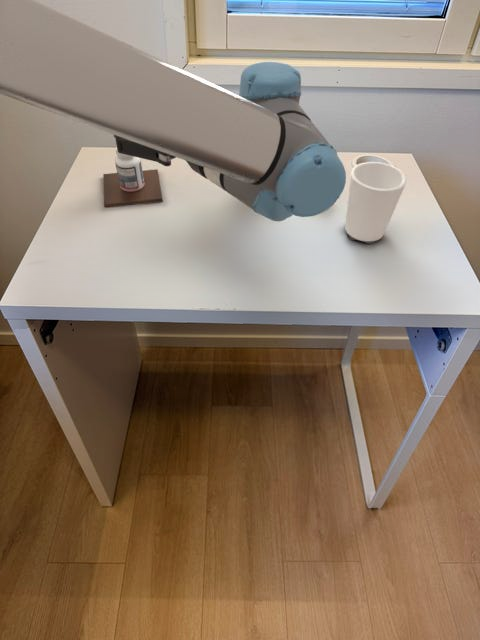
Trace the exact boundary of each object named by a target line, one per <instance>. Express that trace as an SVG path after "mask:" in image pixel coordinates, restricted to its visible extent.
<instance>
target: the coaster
mask: <svg viewBox="0 0 480 640" xmlns="http://www.w3.org/2000/svg"><path fill="white" fill-rule="evenodd" d="M142 171H143V177H144V186H143V188H141V189H140V190H138V191H133V192H128V191H124V190H122V189H121V187H120V184H119V179H118V174H117V172H111V173H103V176H102V177H103V205H104V208H113V207H121V206H122V207H123V206H133V205H142V204H151V203H162V202H163V200H164V199H163V196H162V193H163V192H162V188H161V181H160V176H159V170H158V169H157V168H155V169H147V170H142Z"/></svg>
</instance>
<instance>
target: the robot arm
mask: <svg viewBox="0 0 480 640" xmlns="http://www.w3.org/2000/svg"><path fill="white" fill-rule="evenodd" d="M301 87H302V76H301V73H300V71H299V70H298V68H296V67H294V66H293V65H291V64H288V63H285V62H282V61H281V62H279V61H259V62H255V63H252V64H250V65H248V66H247V67H245V68H244V69H243V70H242V72H241V75H240V84H239V93H238V94H239V95H238V94H236V93H233V92H231V91H229V90H227V89H225V88H223V87H221V86H219V85H216V84H215V83H212V82H210V81H208V80H205V78H202V77H200V76H198V75H196V74H193V73H190V72H189V71H187V70H184V69H182V68H180V67H178V66H176V65H173V64H171V63H169V62H167V61H165V60H163V59H161V58H159V57H156V56H154V55H152V54H150V53H148V52H146V51H143V50H141V49H139V48H138V47H135V46H133V45H130V44H128V43H126V42H125V41H122V40H120V39H119V38H118V39H117V38H116V37H113V36H111V35H109V34H107V33H105V32H102V31H100V30H99V29H96V28H94V27H92V26H90V25H87V24H85V23H83V22H81V21H79V20H77V19H75V18H72V17H70V16H69V15H67V14H64V13H62V12H60V11H57V10H56V9H53V8H51V7H50V6H47V5H45V4H42V3H40V2H38V1H37V0H0V95H2V96H5V97H8V98H11V99H13V100H16V101H18V102H22V103H25V104H27V105H30V106H33V107H35V108H38V109H41V110H44V111H47V112H49V113H53V114H54V115H58V116H61V117H64V118H66V119H69V120H72V121H75V122H78V123H81V124H83V125H86V126H88V127H91V128H94V129H97V130H100V131H102V132H105V133H108V134H111V135H113V138H114V140H115V144H116V146H117V151H118V153H121V154H126V155H130V156H134V157H138V158H140V159H143V160H146V161H147V160H148V161H151V162H156V163H158V164H160V165H162V166H164V167H170V166H172V160H174V159H176V158H177V159H180V160H183V161H185V162H186V163H187V165H188V166H189V167H190V169H191V170H193V171H194V172H195V173H196V174H198V175H200V176H201V177H203V178H204V179H206V180H208V181H209V182H211V183H213V184H214V185H216V186H217V187H219V188H220V189H222V190H223V191H225V192H227V193H228V194H229V195H231V196H232V197H234V198H235V199H237V200H238V201H240V202H241V203H242V204H244V205H246V206H247V207H248V208H250V209H251V210H253V212H254V213H256V214H259V215H261V216H263V217H265V218H266V219H269V220H271V221H273V222H283V221H285V220H286V219H289V218H291V217H292V216H296V217H301V218H309V217H315V216H317V215H320V214H323V213H324V212H326V211H328V210H329V209H331V208H332V206H334V205H335V203H337V201H338V200H339V199H340V196H341V195H342V194H343V191H344V189H345V187H346V184H347V183H346V181H347V173H346V172H347V171H346V169H345V166H344V163H343V162H342V161H341V159H340V157H339V156H338V152H337V149H336V148H334V146H333V145H332V144H330V142H329V141H328V140H327V138H326V137H325V136H324V135H323V134H322V132H321V131H320V130H319V129H318V128H317V126H316V125H315V124H314V123H313V121H312V120H311V118H310V117H309V116H308V114H307V113H306V111H305V110H304V109H303V108H302V107H301V105H300V99H301V96H302V89H301Z"/></svg>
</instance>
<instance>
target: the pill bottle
mask: <svg viewBox="0 0 480 640" xmlns="http://www.w3.org/2000/svg"><path fill="white" fill-rule="evenodd" d="M115 153H116V157H115V158H114V163H115V168H116V169H115V170H116V173H117V174H118V179H119V184H120V187H121V189H122V190H124V191H128V192H133V191H138V190H140V189H141V188H143V186H144V177H143V171H144V170H143V166H142V158H138V157H134V156H130V155H126V154H121V153H118V151H117V145H116V146H115Z"/></svg>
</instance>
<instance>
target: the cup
mask: <svg viewBox="0 0 480 640" xmlns="http://www.w3.org/2000/svg"><path fill="white" fill-rule="evenodd" d="M407 179H408V178H407V175H406V174H405V173H404V172H403V171H402V170H401V169H400V168H398V167H396V166H394V165H392V164H389V163H385V162H382V161H381V162H380V161H366V162H362V163H361V162H360V163H357V164H356V165H355V166H354V167H353V168H352V169H351V172H350V178H349V188H348V195H347V205H346V216H345V224H344V229H345V232H346V233H347V236H348V237H349V239H350V240H352V241H361V242H364V243H365V244H367V245H370V244H373V243H374V242H376V241H379V240H380V239H382V238H383V237H384V235H385V233H386V230H387V228H388V227H389V223H390V222H391V218H392V217H393V215H394V212H395V210H396V208H397V205H398V203H399V200H400V198H401V196H402V194H403V191H404V189H405V186H406V184H407Z"/></svg>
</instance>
